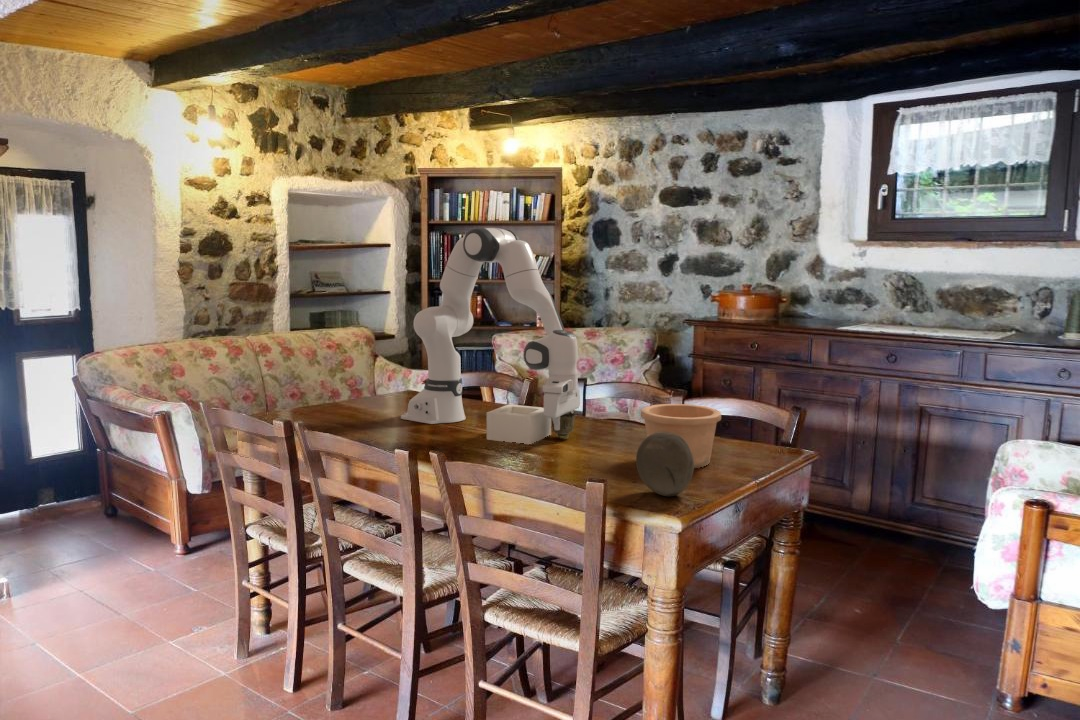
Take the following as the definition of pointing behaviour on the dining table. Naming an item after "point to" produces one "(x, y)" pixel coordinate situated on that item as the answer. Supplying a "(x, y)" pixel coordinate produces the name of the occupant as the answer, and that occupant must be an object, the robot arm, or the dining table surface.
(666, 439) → the dark round stone
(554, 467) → the dining table surface
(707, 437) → the pottery
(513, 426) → the cream box
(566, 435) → the cup
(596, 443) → the dining table surface
